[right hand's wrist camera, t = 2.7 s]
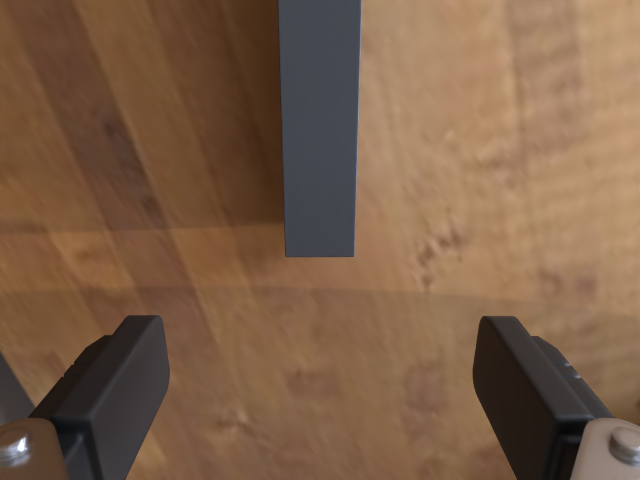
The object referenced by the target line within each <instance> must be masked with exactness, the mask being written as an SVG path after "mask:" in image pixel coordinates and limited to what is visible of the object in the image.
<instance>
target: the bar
mask: <svg viewBox="0 0 640 480" xmlns="http://www.w3.org/2000/svg"><path fill="white" fill-rule="evenodd" d="M361 15H362V0H278V27H279V60H280V94H281V128H282V161H283V195H284V229H285V257H354V253H355V219H356V185H357V151H358V117H359V83H360V49H361Z"/></svg>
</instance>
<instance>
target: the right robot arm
mask: <svg viewBox="0 0 640 480" xmlns="http://www.w3.org/2000/svg"><path fill="white" fill-rule="evenodd" d="M169 376H170V369H169V361H168V354H167V347H166V340H165V333H164V326H163V321H162V318H161V317H160V316H158V315H129V316H127V317H126V318H125V319H124V320H123V322H122V323H121V324H120V325H119V327H118V328H117V329H116V331H115V332H114V333H113V335H104V336H103V337H101V338H100V339H98V340H97V341H95V342H94V343H92V344H91V345H89V346H88V347H86V348H85V349H84V351H83V352H82V353H81V354H80V355H79V357H78V358H77V359H76V360H75V361H74V365H71V366H70V368H69V369H68V370H67V371H66V372H65V374H64V377H61V378H60V380H59V381H58V382H57V383H56V384H55V386H54V387H53V388H52V389H51V390H50V392H49V393H48V394H47V395H46V396H45V398H44V399H43V400H42V401H41V402H40V404H39V405H38V406H37V407H36V408H35V410H34V411H33V412H32V413H31V414H30V416H29V417H28V418H26V419H21V420H16V421H13V422H10V423H7V424H4V425H2V426H0V480H125V479H126V477H127V475H128V473H129V471H130V468H131V466H132V464H133V462H134V460H135V458H136V456H137V454H138V451H139V449H140V447H141V445H142V443H143V441H144V439H145V437H146V434H147V432H148V430H149V428H150V426H151V424H152V422H153V420H154V418H155V415H156V413H157V411H158V409H159V407H160V405H161V403H162V401H163V398H164V396H165V394H166V392H167V388H168V384H169ZM473 383H474V388H475V392H476V394H477V396H478V399H479V401H480V403H481V405H482V407H483V409H484V411H485V413H486V415H487V417H488V420H489V422H490V424H491V426H492V428H493V430H494V432H495V434H496V436H497V438H498V440H499V443H500V445H501V447H502V449H503V451H504V453H505V455H506V457H507V459H508V461H509V464H510V466H511V468H512V470H513V472H514V474H515V476H516V478H517V480H640V426H638V425H636V424H633V423H630V422H627V421H624V420H620V419H616V418H615V417H614V416H613V415H612V414H611V412H610V411H609V410H608V409H607V408H606V407H605V405H604V404H603V403H602V402H601V401H600V399H599V398H598V397H597V396H596V395H595V393H594V392H593V391H592V390H591V389H590V387H589V386H588V385H587V384H586V383H585V381H584V380H583V379H582V378H579V374H578V373H577V372H576V371H575V370H574V368H573V367H572V366H569V362H568V361H567V360H566V359H565V358H564V356H563V355H562V354H561V353H560V352H559V351H558V349H557V348H555V347H554V346H552V345H551V344H549V343H548V342H546V341H545V340H543V339H542V338H540V337H538V336H530V334H529V333H528V332H527V330H526V329H525V328H524V327H523V325H522V324H521V323H520V322H519V320H518V319H517V318H516V317H514V316H483V317H482V318H481V320H480V323H479V329H478V336H477V343H476V350H475V357H474V364H473Z"/></svg>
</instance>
